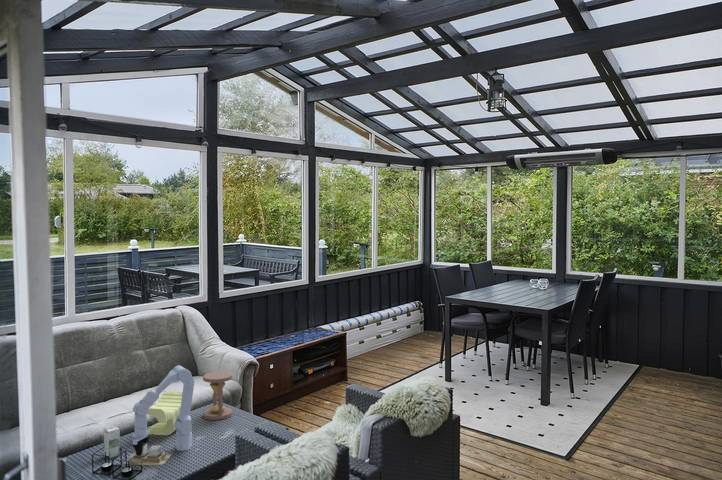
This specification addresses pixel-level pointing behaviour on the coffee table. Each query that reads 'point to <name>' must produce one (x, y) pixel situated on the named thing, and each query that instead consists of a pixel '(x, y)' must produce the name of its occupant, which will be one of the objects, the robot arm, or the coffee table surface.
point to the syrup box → (112, 441)
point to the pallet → (149, 459)
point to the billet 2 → (154, 451)
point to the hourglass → (217, 385)
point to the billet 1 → (143, 451)
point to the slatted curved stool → (166, 413)
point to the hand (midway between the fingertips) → (141, 453)
